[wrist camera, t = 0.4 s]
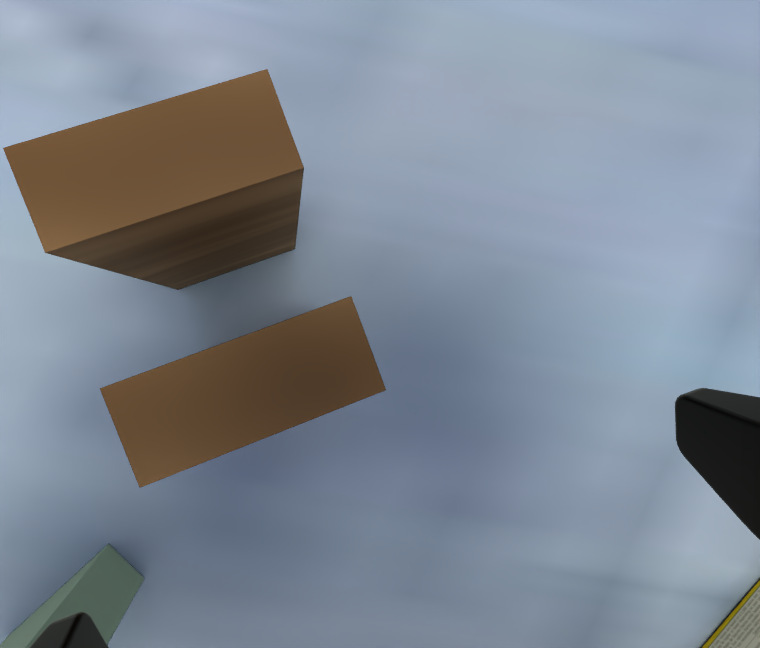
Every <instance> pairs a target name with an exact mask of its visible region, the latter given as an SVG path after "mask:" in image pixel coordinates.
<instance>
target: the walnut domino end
mask: <svg viewBox="0 0 760 648" xmlns="http://www.w3.org/2000/svg"><path fill="white" fill-rule="evenodd" d="M3 149H4V151H5V154H6V156H7V159H8V161H9V164H10V166H11V169H12V171H13V174H14V176H15V179H16V181H17V184H18V186H19V189H20V191H21V194H22V196H23V199H24V201H25V204H26V206H27V209H28V211H29V214H30V216H31V218H32V221H33V223H34V226H35V228H36V231H37V233H38V236H39V238H40V241H41V243H42V246H43V248H44V251H45V253H48V254H52V255H55V256H59V257H63V258H66V259H70V260H73V261H77V262H80V263H84V264H88V265H91V266H95V267H98V268H102V269H106V270H109V271H113V272H116V273H120V274H123V275H127V276H131V277H134V278H138V279H141V280H145V281H149V282H152V283H156V284H159V285H163V286H167V287H170V288H174V289H177V290H179V289H182V288H184V287H187V286H190V285H193V284H196V283H199V282H202V281H205V280H207V279H210V278H213V277H216V276H219V275H222V274H225V273H227V272H230V271H233V270H236V269H239V268H242V267H245V266H247V265H250V264H253V263H256V262H259V261H262V260H265V259H267V258H270V257H273V256H276V255H279V254H282V253H285V252H287V251H290V250H293V249H295V244H296V235H297V225H298V216H299V207H300V198H301V189H302V179H303V170H304V167H303V164H302V162H301V159H300V156H299V154H298V151H297V148H296V145H295V143H294V140H293V137H292V135H291V132H290V129H289V126H288V124H287V121H286V118H285V116H284V113H283V110H282V108H281V105H280V102H279V99H278V97H277V94H276V91H275V89H274V86H273V83H272V81H271V78H270V75H269V72H268V70H267V69H266V70H263V71H259V72H256V73H252V74H249V75H246V76H242V77H239V78H236V79H232V80H229V81H226V82H222V83H219V84H216V85H212V86H209V87H206V88H202V89H199V90H196V91H192V92H189V93H186V94H182V95H179V96H176V97H172V98H169V99H166V100H162V101H159V102H156V103H152V104H149V105H146V106H142V107H139V108H135V109H132V110H129V111H125V112H122V113H119V114H115V115H112V116H109V117H105V118H102V119H99V120H95V121H92V122H89V123H85V124H82V125H79V126H75V127H72V128H69V129H65V130H62V131H59V132H55V133H52V134H49V135H45V136H42V137H39V138H35V139H32V140H29V141H25V142H22V143H18V144H15V145H12V146H8V147H5V148H3Z"/></svg>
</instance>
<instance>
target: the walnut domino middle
mask: <svg viewBox="0 0 760 648" xmlns="http://www.w3.org/2000/svg"><path fill="white" fill-rule="evenodd" d="M100 390H101V393H102V395H103V398H104V400H105V403H106V405H107V408H108V410H109V413H110V415H111V418H112V420H113V422H114V425H115V427H116V430H117V432H118V435H119V437H120V440H121V442H122V445H123V447H124V450H125V452H126V455H127V457H128V460H129V462H130V465H131V467H132V470H133V472H134V475H135V477H136V480H137V482H138V485H139V487H143V486H145V485H148V484H150V483H153V482H155V481H158V480H160V479H163V478H166V477H168V476H171V475H173V474H176V473H178V472H181V471H183V470H186V469H188V468H191V467H193V466H196V465H198V464H201V463H203V462H206V461H208V460H211V459H213V458H216V457H218V456H221V455H223V454H226V453H229V452H231V451H234V450H236V449H239V448H241V447H244V446H246V445H249V444H251V443H254V442H256V441H259V440H261V439H264V438H266V437H269V436H271V435H274V434H276V433H279V432H281V431H284V430H286V429H289V428H291V427H294V426H297V425H299V424H302V423H304V422H307V421H309V420H312V419H314V418H317V417H319V416H322V415H324V414H327V413H329V412H332V411H334V410H337V409H339V408H342V407H344V406H347V405H349V404H352V403H354V402H357V401H359V400H362V399H365V398H367V397H370V396H372V395H375V394H377V393H380V392H382V391H385V390H386V389H385V386H384V383H383V381H382V378H381V375H380V373H379V370H378V367H377V364H376V362H375V359H374V356H373V354H372V351H371V348H370V346H369V343H368V340H367V337H366V335H365V332H364V329H363V327H362V324H361V321H360V319H359V316H358V313H357V310H356V308H355V305H354V302H353V300H352V297H351V296H350V297H348V298H345V299H342V300H339V301H337V302H334V303H331V304H329V305H326V306H323V307H320V308H318V309H315V310H312V311H309V312H307V313H304V314H301V315H299V316H296V317H293V318H290V319H288V320H285V321H282V322H280V323H277V324H274V325H271V326H269V327H266V328H263V329H261V330H258V331H255V332H252V333H250V334H247V335H244V336H241V337H239V338H236V339H233V340H231V341H228V342H225V343H222V344H220V345H217V346H214V347H212V348H209V349H206V350H203V351H201V352H198V353H195V354H193V355H190V356H187V357H184V358H182V359H179V360H176V361H173V362H171V363H168V364H165V365H163V366H160V367H157V368H154V369H152V370H149V371H146V372H144V373H141V374H138V375H135V376H133V377H130V378H127V379H125V380H122V381H119V382H116V383H114V384H111V385H108V386H106V387H103V388H100Z"/></svg>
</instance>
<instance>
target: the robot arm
mask: <svg viewBox="0 0 760 648" xmlns="http://www.w3.org/2000/svg"><path fill="white" fill-rule="evenodd" d="M675 421H676V441H677V445H678V447H679V450H680V451H681V453H682V454H683V456H684V457H685V458H686V459H687V460H688V461H689V463H690V464H691V465H692V466H693V467H694V468H695V469H696V470H697V472H698V473H699V474H700V475H701V476H702V477H703V478H704V479H705V481H706V482H707V483H708V484H709V485H710V486H711V487H712V488H713V490H714V491H715V492H716V493H717V494H718V495H719V496H720V497H721V499H722V500H723V501H724V502H725V503H726V504H727V505H728V506H729V508H730V509H731V510H732V511H733V512H734V513H735V514H736V515H737V517H738V518H739V519H740V520H741V521H742V522H743V523H744V524H745V525H746V526H747V527H748V528H749V529H750V531H751V532H752V533H753V534H754V535H755V536H756V537H757V538H758V539H760V397H754V396H748V395H742V394H736V393H731V392H725V391H719V390H713V389H707V388H699V389H696V390H693V391H690V392H688V393H685V394H682V395H680V396H679V397H678V398H677V400H676V402H675ZM30 648H109V647H108V646H107V644H106V642H105V641H104V639H103V637H102V635H101V634H100V632H99V630H98V628H97V627H96V625H95V623H94V621H93V620H92V618H91V617H90V616H89V615H88V614H87V613H85V612H78V613H75V614H72V615H70V616H67V617H64V618H61V619H58V620H56V621H54V622H52V623H51V624H50V625H49V626H48V627H47V628H46V629H45V630H44V631H43V632H42V634H41V635H40V636H39V637H38V638H37V639H36V641H35V642H34V643H33V644H32V645H31V646H30Z"/></svg>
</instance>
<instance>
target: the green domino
mask: <svg viewBox="0 0 760 648" xmlns="http://www.w3.org/2000/svg"><path fill="white" fill-rule="evenodd" d="M143 580H144V577H143V576H142V575H140V574H139V573H138V572H137V571H136V570H135V569H134V568H133V567H132V566H131V565H130V564H129V563H128V562H127V561H126V560H125V559H124V558H123V557H122V556H121V555H120V554H119V553H118V552H117V551H116V550H115V549H114V548H113V547H112V546H111V545H109V544H108V545H107V546H106V547H105V548H104V549H102V550H101V551H100V552H99V553H98V554H97V555H96V556H95V557H94V558H93V559H92V560H90V561H89V562H88V563H87V564H86V565H85V566H84V567H83V568H82V569H81V570H80V571H78V572H77V573H76V574H75V575H74V576H73V577H72V578H71V579H70V580H69V581H68V582H67V583H65V584H64V585H63V586H62V587H61V588H60V589H59V590H58V591H57V592H56V593H55V594H53V595H52V596H51V597H50V598H49V599H48V600H47V601H46V602H45V603H44V604H43V605H41V606H40V607H39V608H38V609H37V610H36V611H35V612H34V613H33V614H32V615H31V616H30V617H28V618H27V619H26V620H25V621H24V622H23V623H22V624H21V625H20V626H19V627H18V628H16V629H15V630H14V631H13V632H12V633H11V634H10V635H9V636H8V637H7V638H6V639H5V640H4V641H3V643H2V644H1V645H0V648H30V646H31V645H32V644H33V643H34V642H35V641H36V639H37V638H38V637H39V636H40V635H41V634H42V632H43V631H44V630H45V629H46V628H47V627H48V626H49V625H50V624H51V623H52V622H54V621H56V620H58V619H61V618H64V617H67V616H70V615H72V614H75V613H78V612H85V613H87V614H88V615H89V616H90V617H91V618H92V620H93V621H94V623H95V625H96V627H97V628H98V630H99V632H100V634H101V635H102V637H103V639H104V641H105V642H106V644H108V643H109V641H110V639H111V637H112V636H113V634H114V632H115V630H116V628H117V627H118V625H119V623H120V621H121V619H122V618H123V616H124V614H125V612H126V610H127V609H128V607H129V605H130V603H131V601H132V600H133V598H134V596H135V594H136V592H137V591H138V589H139V587H140V585H141V583H142V582H143Z"/></svg>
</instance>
